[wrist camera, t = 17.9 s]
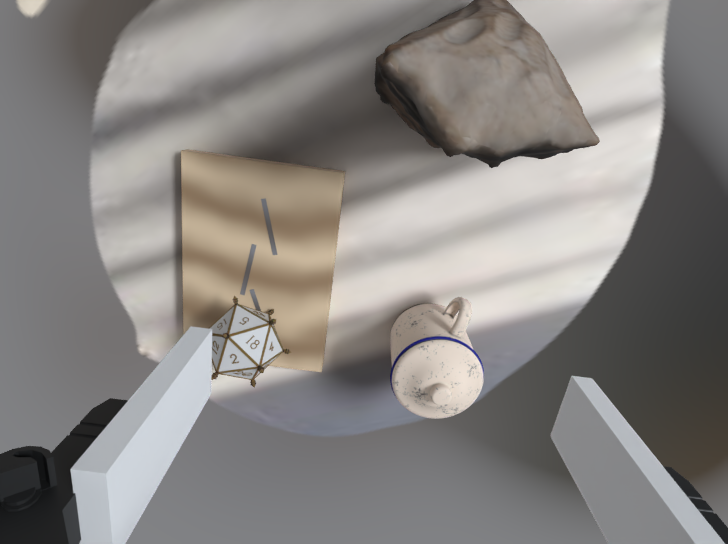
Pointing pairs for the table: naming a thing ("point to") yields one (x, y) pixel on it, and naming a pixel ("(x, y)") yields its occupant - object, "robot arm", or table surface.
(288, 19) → the table surface
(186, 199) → the board
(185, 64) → the table surface
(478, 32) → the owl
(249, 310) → the game die
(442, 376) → the teacup with lid
